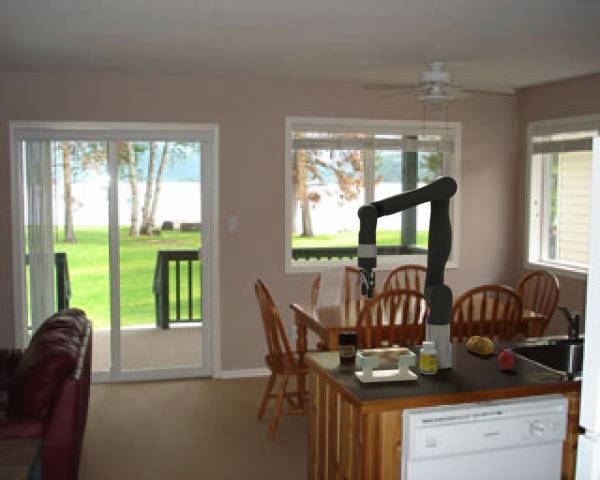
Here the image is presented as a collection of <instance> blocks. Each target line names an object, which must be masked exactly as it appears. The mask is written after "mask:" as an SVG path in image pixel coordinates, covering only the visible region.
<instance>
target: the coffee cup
mask: <svg viewBox="0 0 600 480" xmlns="http://www.w3.org/2000/svg"><path fill="white" fill-rule="evenodd" d="M337 340H338V341H337V342H338V353H339V354H338V355H339V364H340V365H342V366H355V365H356V364H357V361H356V353H358V341H359V335H358V332H357V331H353V330H346V331H345V330H344V331H340V332H339V333H338V335H337Z"/></svg>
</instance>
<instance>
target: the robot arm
mask: <svg viewBox="0 0 600 480" xmlns="http://www.w3.org/2000/svg"><path fill="white" fill-rule="evenodd" d="M457 190H458V183H457V181H456V180H455V179H454V178H453V177H451V176H449V175H439V176H436V177H435V178H433V179H432V180H431V182H430V183H429V184H428V183H427V184H426V185H424V186H421V187H418V188H415V189H411V190H407V191H403V192H399V193H396V194H393V195H390V196H387V197H385V198H383V199H380V200H377V201H372V202H369V203H366V204H362V205H361V206H360V207H359V208H358V210H357V213H356V214H357V215H356V216H357V218H358V219H359V231H358V235H357V236H358V237H357V239H358V240H357V242H358V245H357V268H358V269H359V272H358V273H359V274H358V275H359V276H358V277H359V278H358V279H359V280H358V282H359V284H360V294H361V295H362V296H366V297H367V299H369V300H370V299H373V298H374V289H375V288H376V272H375V271H373V269H376V268H377V266H378V262H377V261H378V249H377V226H378V219H381V218H382V217H388V216H392V215H395V214H398V213H401V212H403V211H406V210H409V209H411V208H414V207H417V206H420V205H422V204H423V205H424V204H426V203H429V204H430V211H429V213H430V214H429V222H428V224H429V225H428V233H427V235H428V236H427V238H428V239H427V259H426V263H427V264H426V274H425V275H426V276H425V280H424V281H425V282H424V288H423V297H424V300H425V301H426V302H427V303H428V304H429V305H430V307H429V314H427V315H426V319H425V320H426V321H425V342H426V341H430V342H434V343H435V347H434V349H436V350H437V370H442V369H448V368H452V352H453V349H452V345H453V344H452V342H451V338H450V337H451V329H450V328H451V319H452V316H453V304H454V301H453V300H454V294H453V291H452V288H451V287H450V286H448V285H447V284H445V271H446V265H447V262H448V261H449V258H450V255H451V253H452V247H453V245H452V244H453V231H452V223H451V219H450V201H451V198H453V197H454V196H455V194H456V193H457Z"/></svg>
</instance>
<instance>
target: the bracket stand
mask: <svg viewBox="0 0 600 480" xmlns="http://www.w3.org/2000/svg"><path fill="white" fill-rule="evenodd" d="M355 359H356V360H355V361H356V364H358V365H359V366H360V367H361V368H362V371H355V372H354V376H355V377H356V378H357V379H358V380H359V381H360V382H362V383H374V382H375V383H378V382H394V381H415V380H418V376H417V374H415V373H414V372H412V370H410V367H411V366H413V367H414V366H416V364H417V354H416V353H414V352H412V351H411V350H410V355H399V363H395V364H396V365H397V366H398V369H386V370H385V369H384V370H373V369H374V368H379V367H380V366H379V365H380V364H379V357H378V356H377V357H363V351H362V352H361V351H360V352H357V353H356V358H355Z"/></svg>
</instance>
